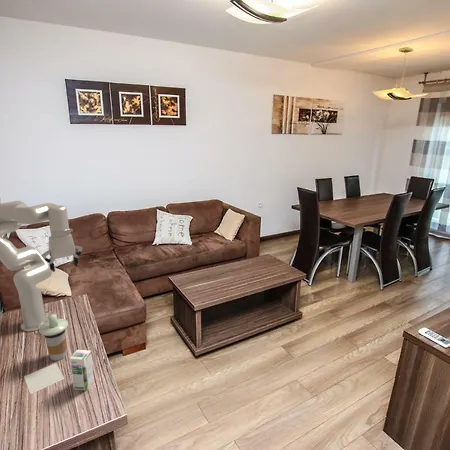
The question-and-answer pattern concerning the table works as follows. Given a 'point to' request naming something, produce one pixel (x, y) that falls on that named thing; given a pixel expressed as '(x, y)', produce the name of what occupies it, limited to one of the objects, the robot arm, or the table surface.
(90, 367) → the syrup box
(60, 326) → the lid
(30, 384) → the mat
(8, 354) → the table surface
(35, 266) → the robot arm
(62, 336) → the coffee cup
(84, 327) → the table surface
